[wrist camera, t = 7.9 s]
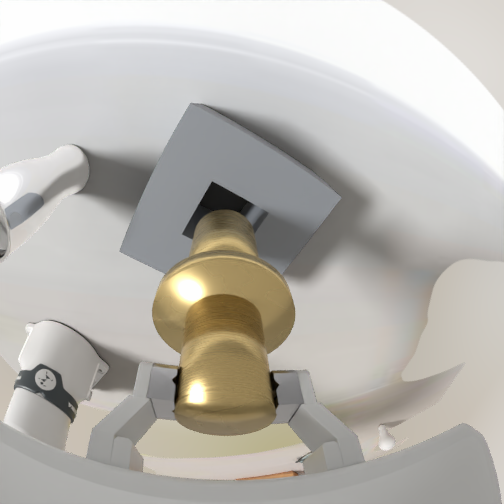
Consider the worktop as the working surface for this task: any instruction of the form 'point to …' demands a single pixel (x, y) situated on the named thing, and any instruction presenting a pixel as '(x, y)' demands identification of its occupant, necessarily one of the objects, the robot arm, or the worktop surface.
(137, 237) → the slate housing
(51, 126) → the worktop surface
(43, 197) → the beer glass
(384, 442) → the lightbulb
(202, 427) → the brass knob plunger
